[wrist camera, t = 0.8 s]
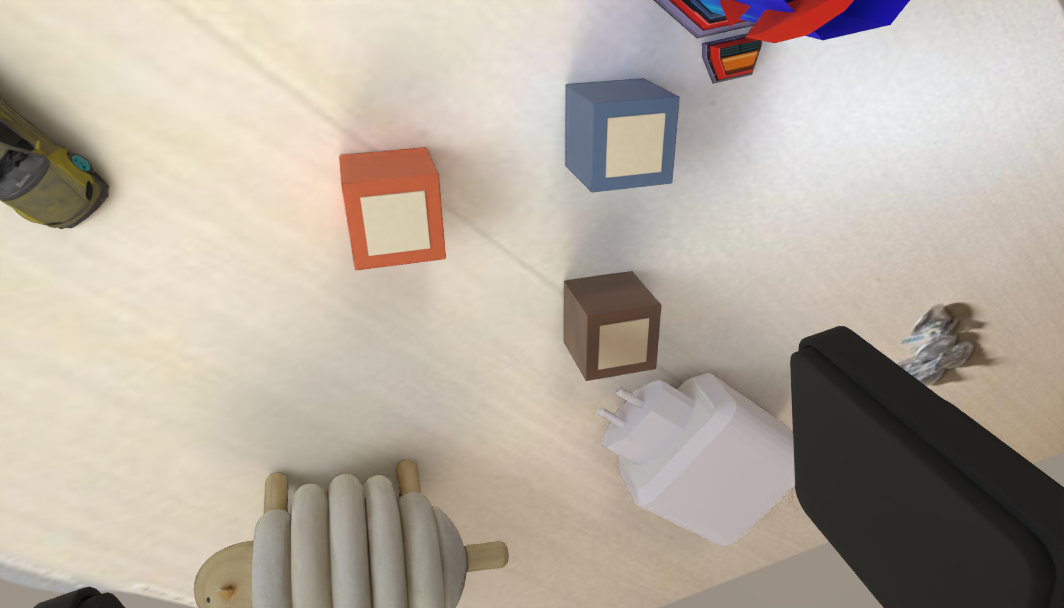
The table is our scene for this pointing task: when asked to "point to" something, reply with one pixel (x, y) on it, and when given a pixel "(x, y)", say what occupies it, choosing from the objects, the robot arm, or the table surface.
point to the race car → (44, 176)
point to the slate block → (620, 134)
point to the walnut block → (611, 325)
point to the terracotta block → (392, 207)
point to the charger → (701, 455)
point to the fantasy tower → (772, 25)
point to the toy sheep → (347, 550)
